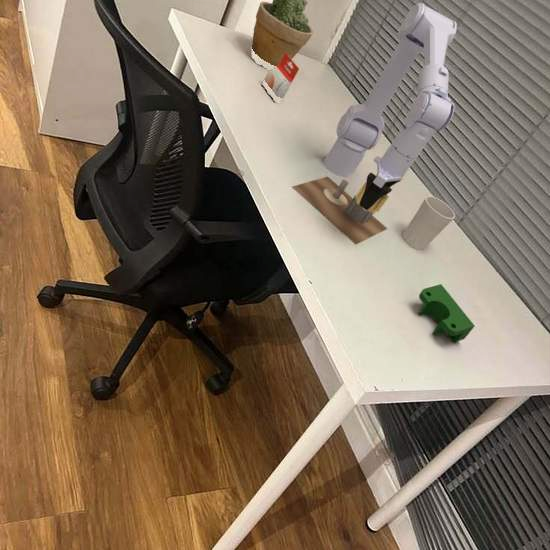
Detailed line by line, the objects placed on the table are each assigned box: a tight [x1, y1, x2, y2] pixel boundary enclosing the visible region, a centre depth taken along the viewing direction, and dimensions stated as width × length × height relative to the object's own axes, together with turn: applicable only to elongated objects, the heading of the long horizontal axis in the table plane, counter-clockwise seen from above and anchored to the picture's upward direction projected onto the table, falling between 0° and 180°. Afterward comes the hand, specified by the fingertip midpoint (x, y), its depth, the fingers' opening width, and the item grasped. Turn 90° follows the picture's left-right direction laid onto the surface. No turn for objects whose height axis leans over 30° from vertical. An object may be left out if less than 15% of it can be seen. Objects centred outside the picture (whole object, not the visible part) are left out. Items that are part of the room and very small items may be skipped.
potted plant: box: [251, 0, 314, 66], centre depth 173 cm, size 18×19×25 cm
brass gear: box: [355, 181, 389, 214], centre depth 117 cm, size 6×6×4 cm
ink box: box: [263, 53, 300, 99], centre depth 159 cm, size 3×9×12 cm, turn 29°
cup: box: [401, 195, 456, 252], centre depth 130 cm, size 8×8×12 cm
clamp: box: [417, 283, 476, 343], centre depth 111 cm, size 12×6×9 cm, turn 23°
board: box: [291, 176, 388, 245], centre depth 127 cm, size 16×20×6 cm
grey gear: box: [346, 195, 374, 224], centre depth 128 cm, size 6×6×4 cm
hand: (367, 202), depth 118 cm, fingers closed on brass gear, 6 cm apart
